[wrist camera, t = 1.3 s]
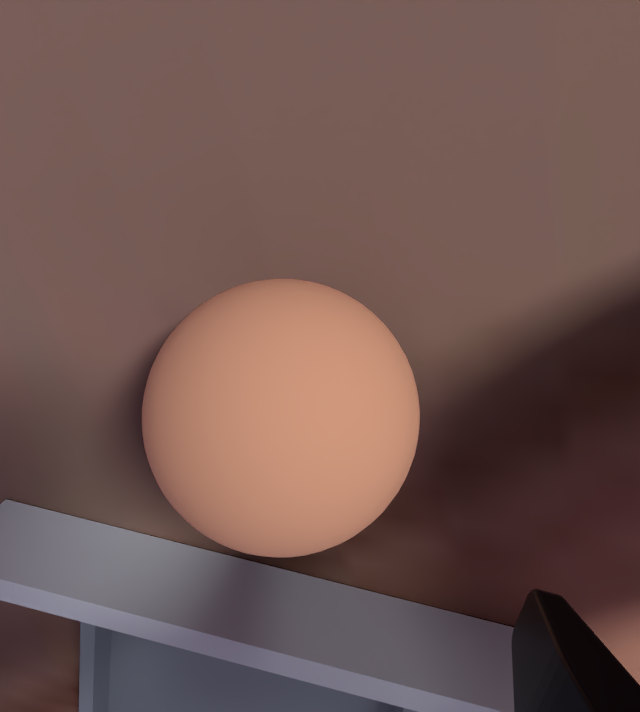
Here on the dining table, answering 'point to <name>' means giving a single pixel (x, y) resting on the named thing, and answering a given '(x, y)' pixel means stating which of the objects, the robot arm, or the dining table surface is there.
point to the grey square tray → (192, 681)
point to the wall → (254, 614)
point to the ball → (280, 418)
